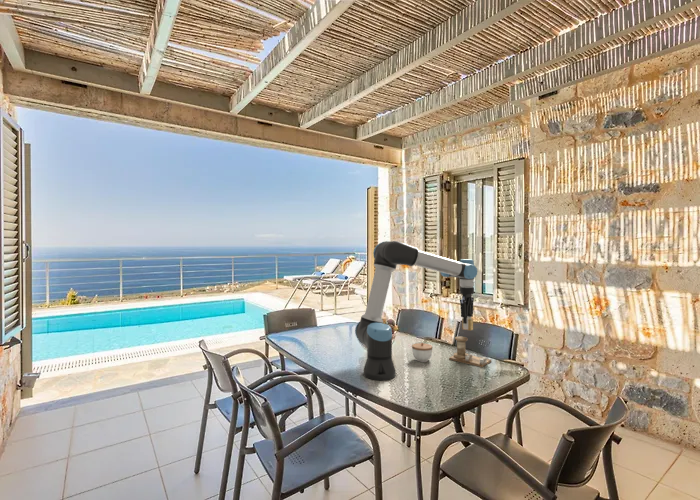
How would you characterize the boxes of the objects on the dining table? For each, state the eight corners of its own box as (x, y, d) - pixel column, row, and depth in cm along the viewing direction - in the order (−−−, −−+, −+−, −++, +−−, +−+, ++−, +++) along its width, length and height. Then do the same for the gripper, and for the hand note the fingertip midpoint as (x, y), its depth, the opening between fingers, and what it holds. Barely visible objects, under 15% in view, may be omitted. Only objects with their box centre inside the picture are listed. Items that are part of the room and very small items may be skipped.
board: (482, 367, 178) (482, 360, 178) (449, 359, 191) (449, 353, 191) (491, 361, 187) (491, 354, 187) (459, 354, 199) (459, 348, 199)
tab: (470, 330, 195) (470, 319, 195) (462, 329, 199) (462, 318, 199) (473, 329, 197) (472, 318, 197) (464, 328, 201) (464, 317, 201)
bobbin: (464, 359, 187) (465, 340, 187) (450, 356, 192) (450, 338, 192) (471, 356, 192) (471, 337, 192) (457, 353, 198) (457, 335, 198)
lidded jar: (432, 364, 183) (432, 346, 183) (411, 362, 185) (411, 344, 185) (432, 357, 194) (432, 340, 194) (412, 356, 196) (412, 339, 196)
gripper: (467, 288, 190) (467, 332, 190) (479, 286, 201) (479, 327, 201) (454, 287, 195) (454, 330, 195) (466, 285, 207) (467, 325, 207)
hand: (467, 328), depth 198 cm, fingers closed on tab, 3 cm apart
